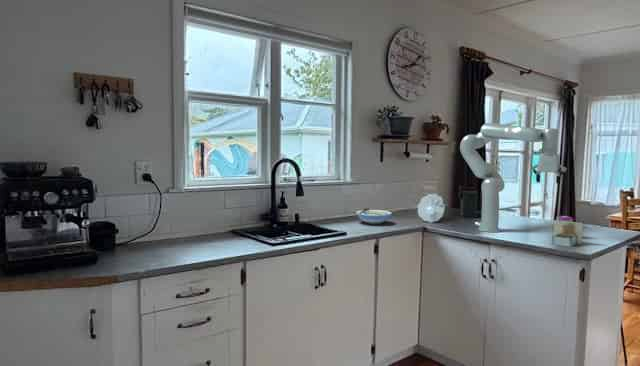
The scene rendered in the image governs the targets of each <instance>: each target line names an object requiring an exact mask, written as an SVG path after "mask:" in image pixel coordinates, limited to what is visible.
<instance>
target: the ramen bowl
mask: <svg viewBox="0 0 640 366" xmlns="http://www.w3.org/2000/svg"><path fill="white" fill-rule="evenodd" d="M356 214H357V216H358V218H359V219H360V220H361V221H363V222H365V223H367V224H368V225H380V224H381V223H385V222H387V220H388V219H390V217H391V215H392V212H391V211H389V210H383V209H382V210H381V209H370V207H368V208H367V207H365V208H364V209H362V210H357V211H356Z"/></svg>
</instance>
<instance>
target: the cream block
mask: <svg viewBox="0 0 640 366" xmlns="http://www.w3.org/2000/svg"><path fill="white" fill-rule="evenodd" d="M560 225H569V226H570V231H569V238H564V237H559V231H560ZM583 227H584V223H583V222H579V221H578V222H577V221H573V222H570V221H561V220H557V219H554V221H553V235H552V236H551V245H558V246H564V247H573V246H575V245H576V244H577V245H583V231H584V229H583Z"/></svg>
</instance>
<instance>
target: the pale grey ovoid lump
mask: <svg viewBox="0 0 640 366" xmlns="http://www.w3.org/2000/svg"><path fill="white" fill-rule="evenodd" d="M443 202H444V200H443V197H442V195H438V194H437V193H432V194H431V193H428V194H427V195H425V196H423V197H421V199H420V201H419V203H417V204H418V205H417V214H418V218H421V219H422V220H423V221H424V222H429V223H434V222H438V221H440V219H441V218H442V217H443V216H444V213H445V209H446V208H445V206H446V205H445V204H444V203H443Z"/></svg>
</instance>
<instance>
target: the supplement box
mask: <svg viewBox="0 0 640 366" xmlns="http://www.w3.org/2000/svg"><path fill="white" fill-rule="evenodd" d="M556 220H561V221H570V222H574V217H571V216H567V215H560V216H558V215H557V216H556Z"/></svg>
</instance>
